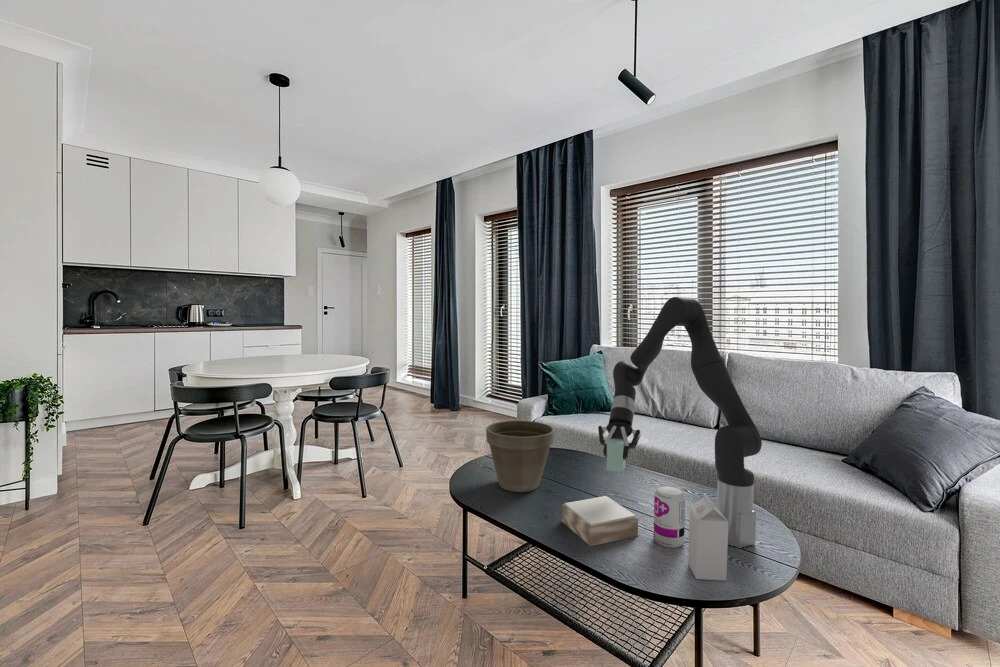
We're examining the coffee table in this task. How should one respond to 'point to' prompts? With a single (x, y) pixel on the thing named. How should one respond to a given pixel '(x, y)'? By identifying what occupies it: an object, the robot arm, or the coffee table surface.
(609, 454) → the carton
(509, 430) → the plant pot
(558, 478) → the coffee table surface
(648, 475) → the coffee table surface
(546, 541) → the coffee table surface
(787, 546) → the coffee table surface
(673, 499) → the supplement can
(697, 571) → the milk carton
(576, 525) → the podium
